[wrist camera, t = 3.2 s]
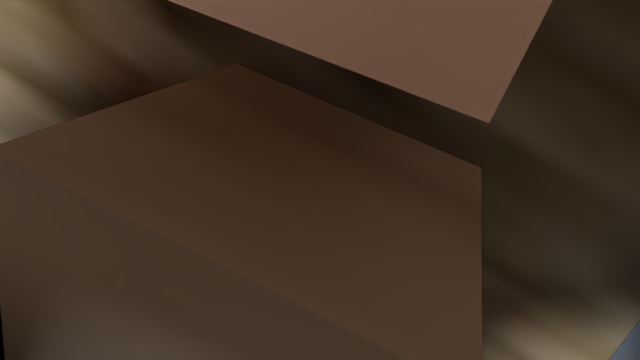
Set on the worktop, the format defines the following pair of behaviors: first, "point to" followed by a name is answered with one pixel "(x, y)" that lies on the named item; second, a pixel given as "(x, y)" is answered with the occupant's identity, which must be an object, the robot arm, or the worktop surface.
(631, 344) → the base plate
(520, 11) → the terracotta block
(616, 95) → the worktop surface
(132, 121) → the walnut block
